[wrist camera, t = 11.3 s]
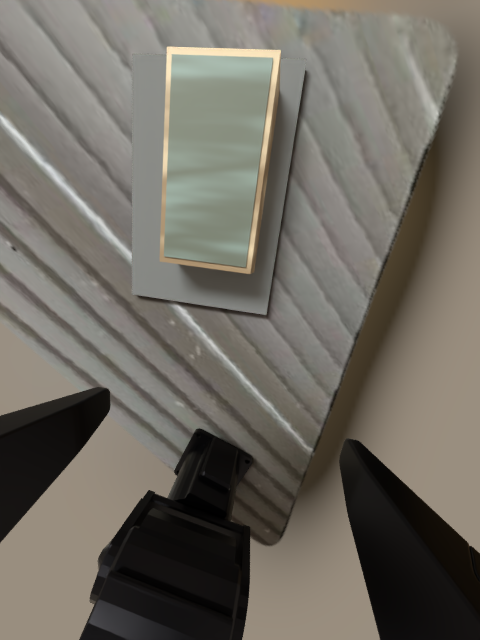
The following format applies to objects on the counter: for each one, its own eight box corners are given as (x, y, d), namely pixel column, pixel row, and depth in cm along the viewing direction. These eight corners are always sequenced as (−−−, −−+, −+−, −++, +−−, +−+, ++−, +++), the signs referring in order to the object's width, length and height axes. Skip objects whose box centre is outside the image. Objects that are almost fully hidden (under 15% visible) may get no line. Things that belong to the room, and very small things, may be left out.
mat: (266, 313, 20) (266, 315, 19) (134, 293, 21) (132, 294, 21) (305, 64, 15) (306, 58, 15) (135, 58, 16) (132, 53, 16)
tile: (249, 274, 16) (281, 48, 12) (158, 261, 16) (166, 45, 13) (254, 272, 18) (279, 89, 15) (176, 261, 19) (186, 85, 16)
